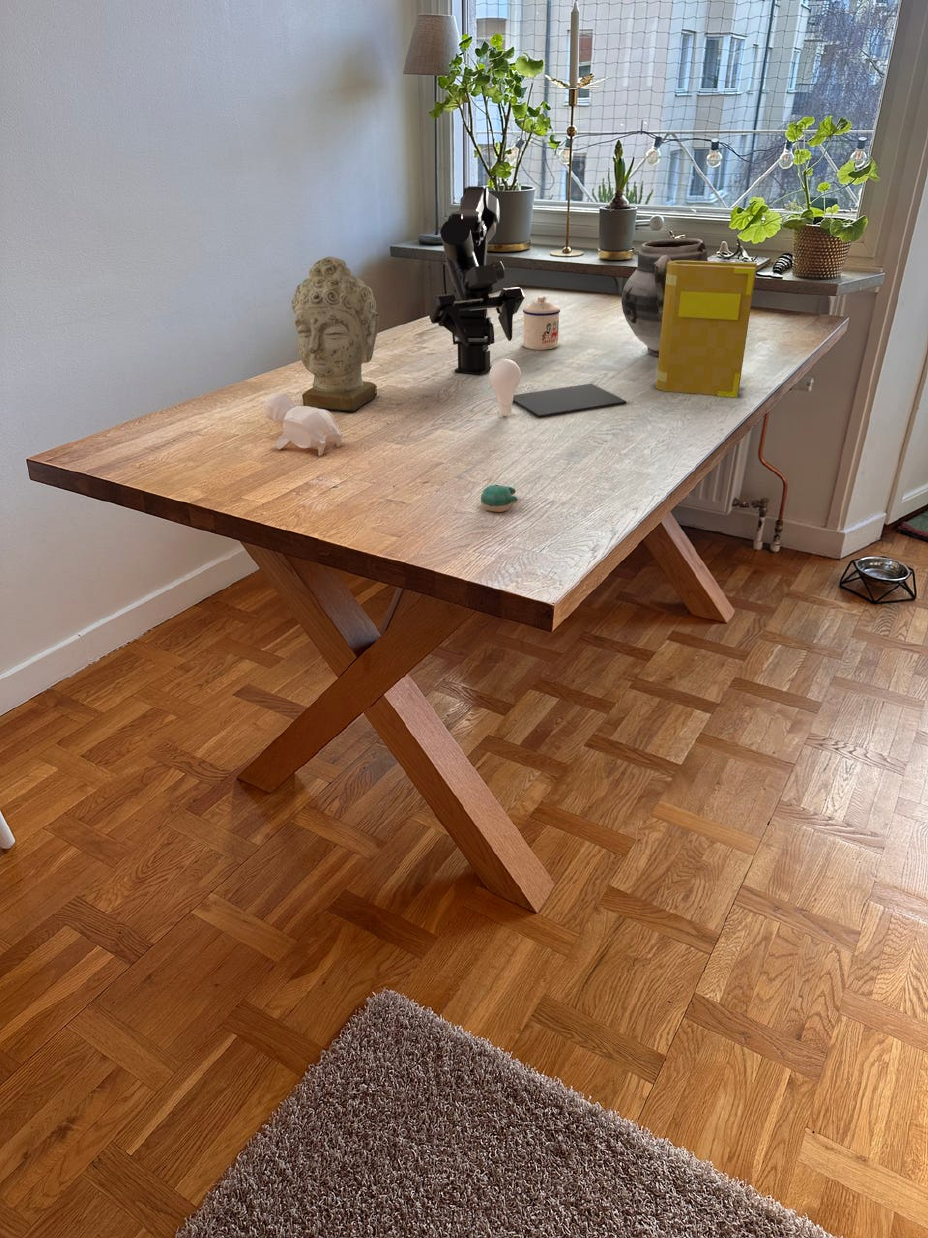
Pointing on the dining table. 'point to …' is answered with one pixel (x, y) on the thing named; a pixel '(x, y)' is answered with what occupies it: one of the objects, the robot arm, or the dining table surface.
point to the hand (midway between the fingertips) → (489, 342)
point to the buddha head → (335, 335)
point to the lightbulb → (505, 383)
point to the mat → (566, 400)
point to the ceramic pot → (655, 285)
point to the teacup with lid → (541, 325)
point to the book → (704, 326)
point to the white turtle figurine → (302, 424)
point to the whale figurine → (498, 498)
